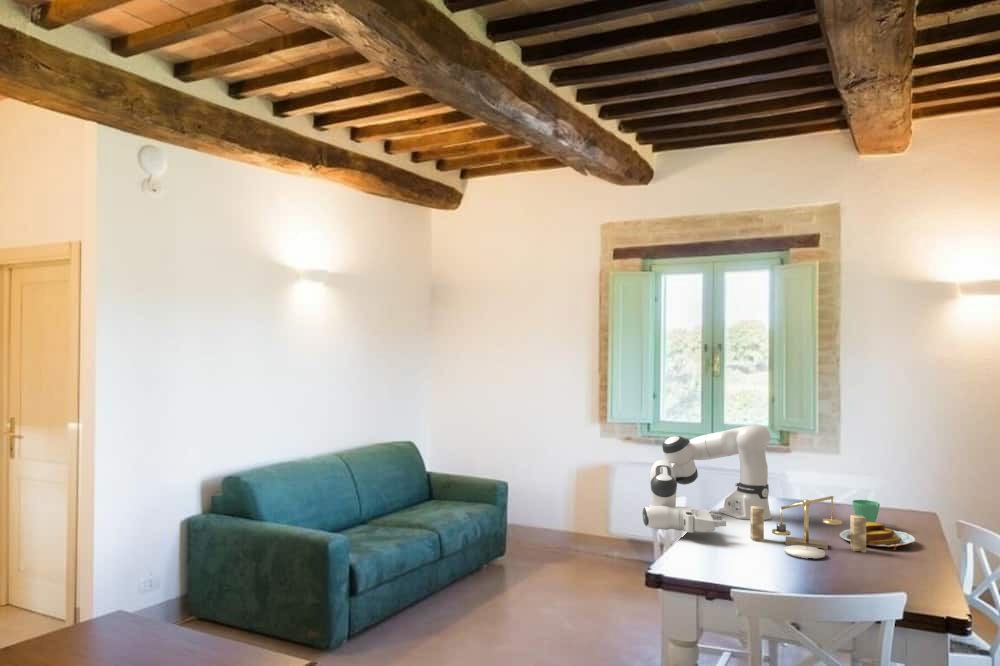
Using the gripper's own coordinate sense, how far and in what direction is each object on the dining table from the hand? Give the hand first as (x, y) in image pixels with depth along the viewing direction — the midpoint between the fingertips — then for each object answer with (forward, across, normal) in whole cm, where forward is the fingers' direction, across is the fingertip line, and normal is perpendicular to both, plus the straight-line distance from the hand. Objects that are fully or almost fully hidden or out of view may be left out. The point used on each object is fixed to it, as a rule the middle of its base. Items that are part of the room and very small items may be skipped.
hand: (724, 520), depth 270 cm
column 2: (+45, +8, -7) cm, 46 cm away
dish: (+24, +18, -6) cm, 31 cm away
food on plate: (+56, -6, -7) cm, 57 cm away
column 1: (+12, 0, -7) cm, 14 cm away
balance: (+28, +4, -6) cm, 30 cm away
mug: (+61, -32, -7) cm, 69 cm away
